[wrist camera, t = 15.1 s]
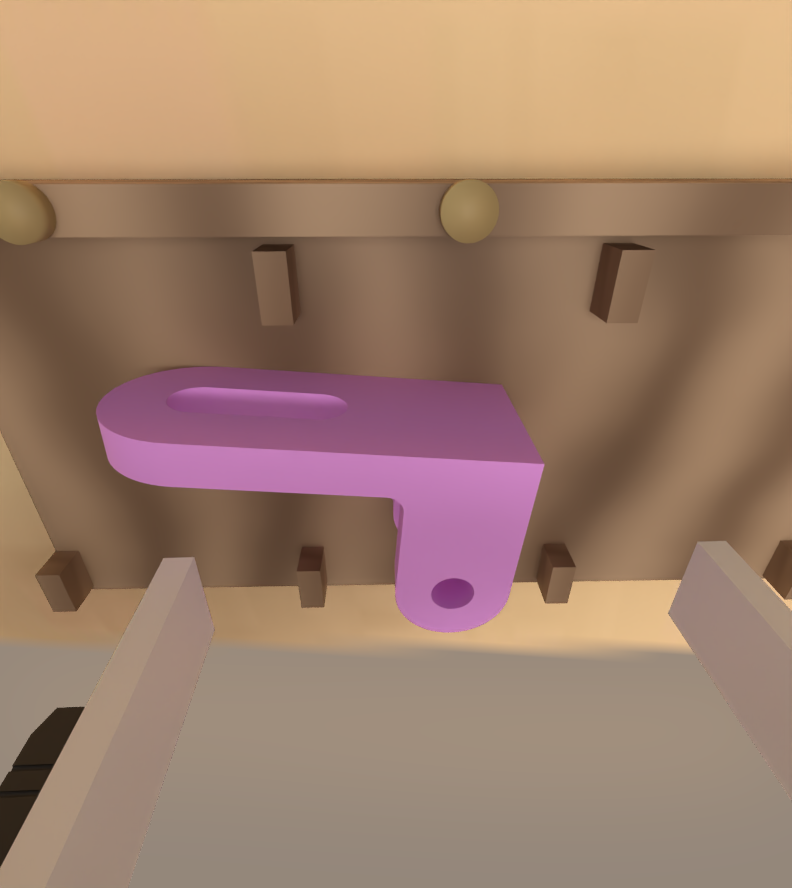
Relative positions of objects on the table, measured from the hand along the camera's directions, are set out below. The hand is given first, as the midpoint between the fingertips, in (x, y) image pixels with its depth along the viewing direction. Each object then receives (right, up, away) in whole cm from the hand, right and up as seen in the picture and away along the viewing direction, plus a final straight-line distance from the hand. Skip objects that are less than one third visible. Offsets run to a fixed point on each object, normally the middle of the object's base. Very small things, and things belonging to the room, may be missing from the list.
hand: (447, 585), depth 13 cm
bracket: (-4, +5, +2) cm, 7 cm away
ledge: (0, +5, +7) cm, 9 cm away
